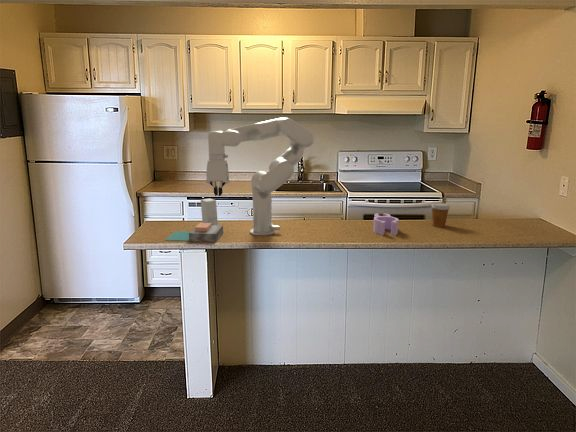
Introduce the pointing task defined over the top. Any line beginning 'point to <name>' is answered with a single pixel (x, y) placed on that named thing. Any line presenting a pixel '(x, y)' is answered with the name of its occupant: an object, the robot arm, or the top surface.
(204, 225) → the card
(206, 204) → the skincare box
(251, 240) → the top surface
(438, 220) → the disposable coffee cup
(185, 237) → the mat
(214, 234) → the grey flat block
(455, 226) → the top surface
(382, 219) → the clip
